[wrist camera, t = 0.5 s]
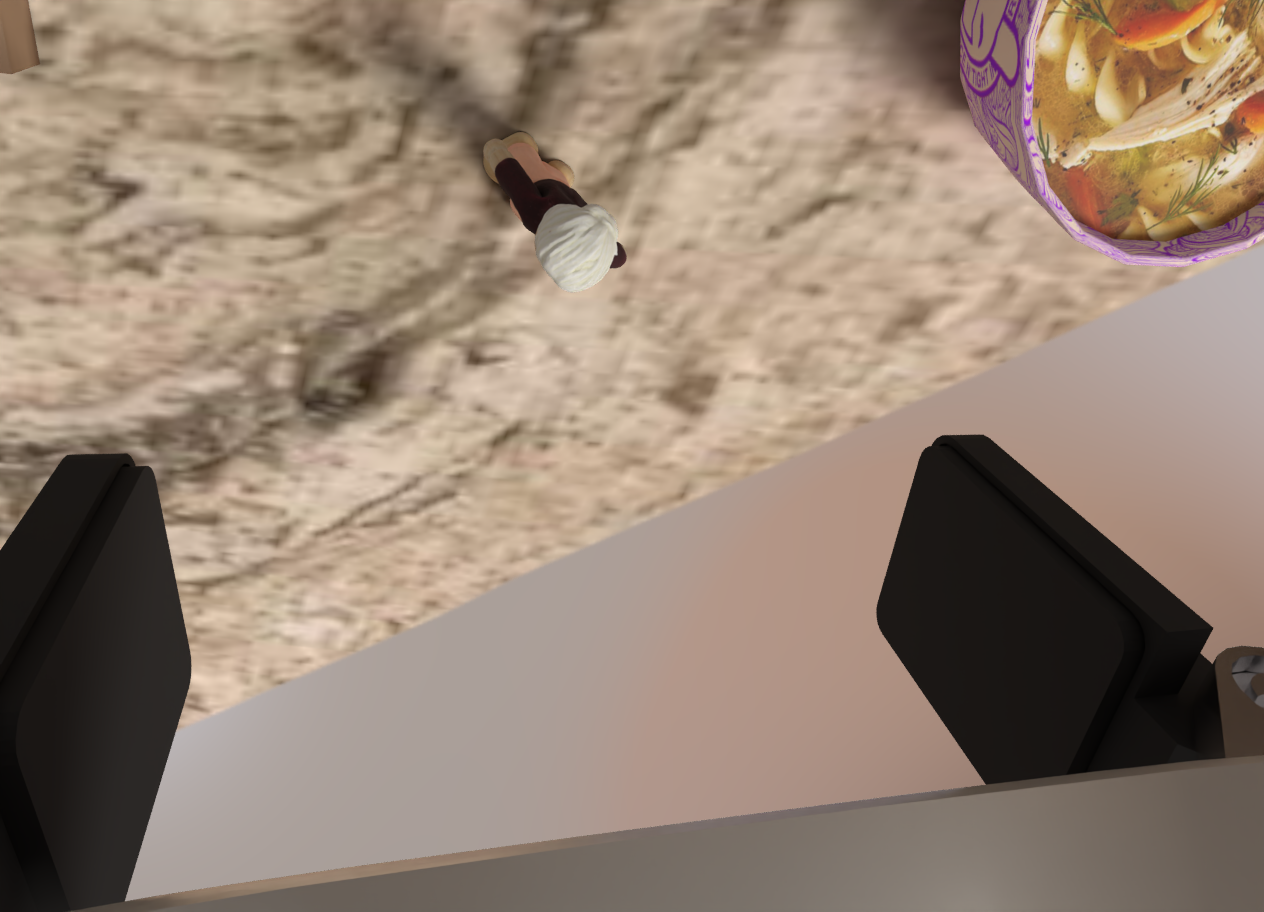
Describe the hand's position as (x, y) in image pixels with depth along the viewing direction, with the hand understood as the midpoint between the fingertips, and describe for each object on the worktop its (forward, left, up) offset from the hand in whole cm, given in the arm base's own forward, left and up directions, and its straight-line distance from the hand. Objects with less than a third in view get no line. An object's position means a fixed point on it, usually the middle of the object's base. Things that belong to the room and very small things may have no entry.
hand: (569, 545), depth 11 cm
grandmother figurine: (+3, +4, -35) cm, 36 cm away
